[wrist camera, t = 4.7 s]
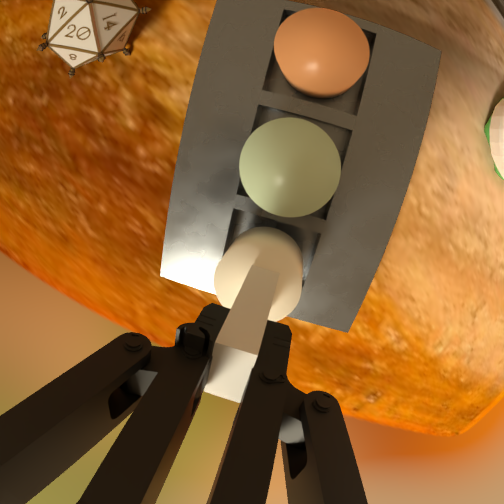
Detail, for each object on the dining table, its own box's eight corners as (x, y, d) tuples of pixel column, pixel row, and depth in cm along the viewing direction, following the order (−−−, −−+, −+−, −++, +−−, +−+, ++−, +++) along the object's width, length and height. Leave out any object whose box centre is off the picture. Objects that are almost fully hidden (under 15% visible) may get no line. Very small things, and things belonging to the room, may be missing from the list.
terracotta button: (271, 87, 16) (263, 77, 14) (289, 19, 15) (285, -1, 12) (350, 108, 16) (358, 103, 13) (366, 40, 14) (377, 23, 11)
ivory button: (221, 284, 21) (207, 309, 18) (236, 217, 19) (222, 233, 16) (290, 305, 20) (286, 333, 17) (313, 239, 18) (313, 260, 15)
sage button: (242, 190, 18) (229, 201, 15) (262, 111, 16) (252, 106, 13) (321, 213, 18) (324, 229, 15) (345, 134, 16) (352, 134, 13)
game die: (156, 30, 22) (185, -15, 14) (98, 100, 22) (96, 80, 14) (88, -12, 17) (90, -68, 8) (28, 57, 17) (-2, 22, 9)
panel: (180, 255, 25) (160, 275, 22) (234, 13, 17) (219, -8, 14) (343, 304, 24) (347, 332, 21) (420, 63, 16) (441, 51, 13)
